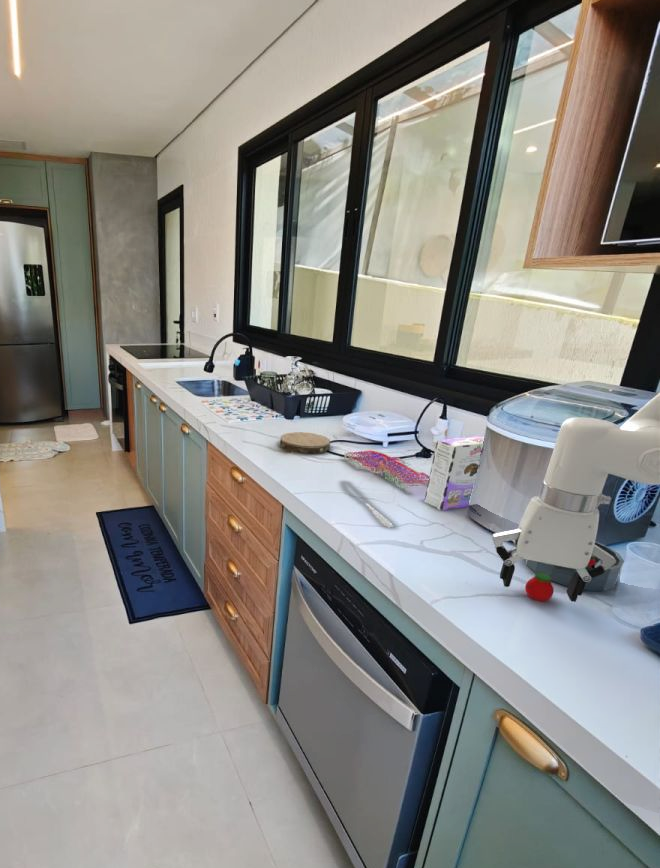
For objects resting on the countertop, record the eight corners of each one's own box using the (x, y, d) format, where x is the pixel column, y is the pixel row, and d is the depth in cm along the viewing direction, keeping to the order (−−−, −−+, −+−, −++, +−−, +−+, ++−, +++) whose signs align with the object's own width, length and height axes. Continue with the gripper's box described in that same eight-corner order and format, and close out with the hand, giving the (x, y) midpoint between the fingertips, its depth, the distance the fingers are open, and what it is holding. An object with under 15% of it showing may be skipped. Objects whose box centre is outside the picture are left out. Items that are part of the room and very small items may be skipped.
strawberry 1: (538, 592, 88) (545, 569, 86) (555, 605, 84) (563, 582, 83) (517, 593, 87) (524, 570, 86) (533, 606, 84) (541, 583, 82)
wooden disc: (269, 445, 165) (270, 436, 164) (303, 438, 174) (304, 429, 173) (305, 458, 154) (306, 449, 152) (339, 450, 163) (340, 441, 161)
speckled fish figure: (448, 494, 129) (452, 475, 127) (396, 498, 126) (400, 478, 124) (385, 458, 156) (387, 441, 154) (340, 460, 153) (342, 443, 151)
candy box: (465, 496, 128) (480, 434, 122) (484, 505, 123) (501, 441, 117) (422, 502, 124) (435, 438, 118) (440, 512, 119) (455, 445, 113)
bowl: (601, 563, 98) (610, 540, 96) (625, 601, 86) (635, 576, 84) (519, 548, 103) (525, 526, 101) (530, 582, 91) (537, 557, 89)
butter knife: (382, 527, 109) (395, 525, 109) (338, 483, 134) (349, 482, 134) (382, 529, 109) (395, 528, 109) (338, 485, 134) (349, 484, 134)
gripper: (627, 499, 79) (592, 591, 85) (503, 480, 85) (479, 567, 92) (643, 517, 73) (604, 615, 79) (509, 495, 79) (482, 588, 85)
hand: (537, 590), depth 85 cm, fingers open, 9 cm apart
